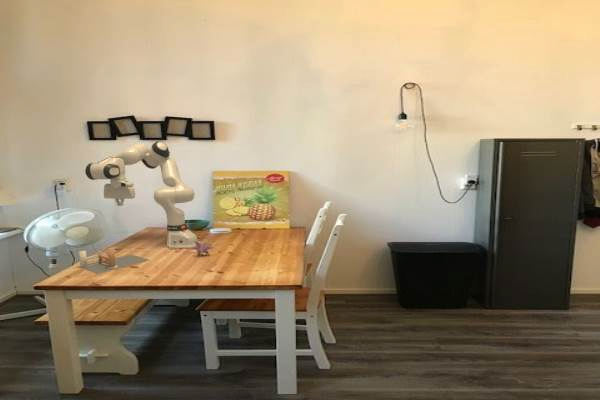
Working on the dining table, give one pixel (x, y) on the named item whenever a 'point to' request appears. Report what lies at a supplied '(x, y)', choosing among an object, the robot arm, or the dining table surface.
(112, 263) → the hinged fence section
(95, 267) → the board
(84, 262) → the fixed fence section
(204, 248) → the lily
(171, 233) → the robot arm
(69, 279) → the dining table surface
